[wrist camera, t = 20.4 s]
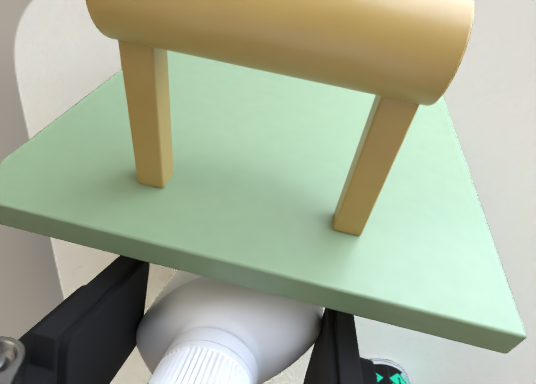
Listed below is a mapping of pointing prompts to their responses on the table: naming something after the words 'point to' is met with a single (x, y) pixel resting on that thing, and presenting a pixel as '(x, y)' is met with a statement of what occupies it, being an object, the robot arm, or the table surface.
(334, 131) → the lid
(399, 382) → the spray can
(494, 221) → the table surface
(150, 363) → the eye dropper bottle
